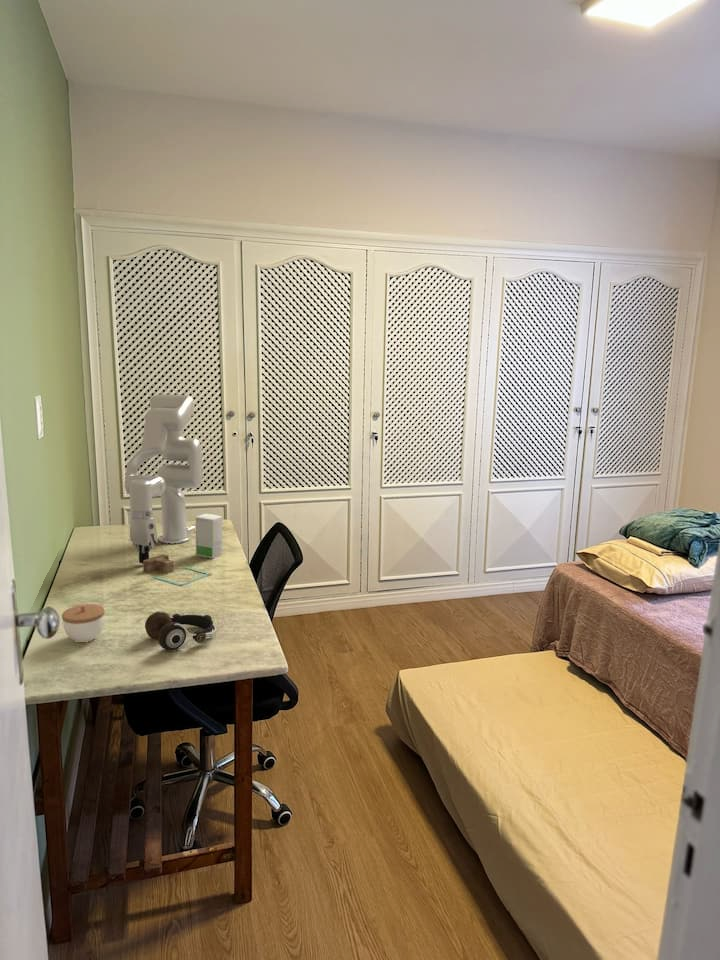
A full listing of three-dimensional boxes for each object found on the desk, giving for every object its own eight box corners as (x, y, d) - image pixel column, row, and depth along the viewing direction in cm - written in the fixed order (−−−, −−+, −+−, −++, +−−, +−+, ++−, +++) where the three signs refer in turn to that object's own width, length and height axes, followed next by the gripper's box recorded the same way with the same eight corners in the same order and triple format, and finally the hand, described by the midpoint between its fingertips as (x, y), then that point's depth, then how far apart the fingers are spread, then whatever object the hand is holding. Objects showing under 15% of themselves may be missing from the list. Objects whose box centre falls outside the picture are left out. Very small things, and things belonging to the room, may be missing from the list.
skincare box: (195, 556, 249) (193, 516, 245) (205, 551, 255) (204, 512, 251) (213, 559, 246) (212, 519, 242) (223, 554, 252) (222, 515, 248)
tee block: (143, 571, 231) (142, 560, 230) (163, 564, 239) (162, 554, 238) (160, 576, 227) (160, 565, 226) (180, 569, 234) (179, 558, 233)
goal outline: (183, 566, 237) (183, 566, 237) (211, 574, 229) (211, 573, 229) (153, 577, 225) (153, 577, 225) (181, 586, 218) (181, 585, 218)
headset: (140, 607, 180) (205, 601, 193) (137, 634, 180) (203, 626, 194) (166, 628, 167) (234, 620, 180) (163, 657, 168) (231, 646, 181)
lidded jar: (114, 632, 183) (112, 600, 181) (90, 649, 172) (87, 616, 171) (80, 627, 185) (78, 596, 183) (55, 644, 175) (52, 611, 173)
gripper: (164, 514, 233) (166, 563, 236) (136, 508, 241) (139, 556, 244) (147, 519, 227) (149, 569, 230) (119, 513, 234) (122, 561, 238)
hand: (144, 562), depth 237 cm, fingers closed
